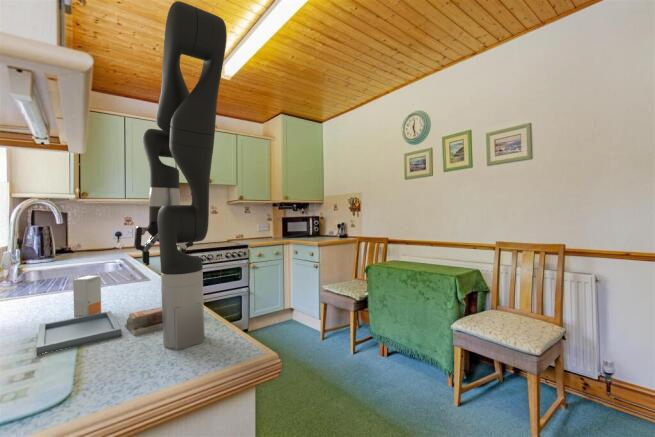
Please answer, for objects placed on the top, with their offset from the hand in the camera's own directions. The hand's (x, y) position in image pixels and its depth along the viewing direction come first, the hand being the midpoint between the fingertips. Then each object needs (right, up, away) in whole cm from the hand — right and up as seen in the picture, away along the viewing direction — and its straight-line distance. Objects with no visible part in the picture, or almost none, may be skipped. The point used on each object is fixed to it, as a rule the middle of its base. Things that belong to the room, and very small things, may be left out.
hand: (164, 263), depth 86 cm
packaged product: (-2, -18, +4) cm, 19 cm away
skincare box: (-30, -18, +11) cm, 37 cm away
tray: (-21, -18, -3) cm, 28 cm away
